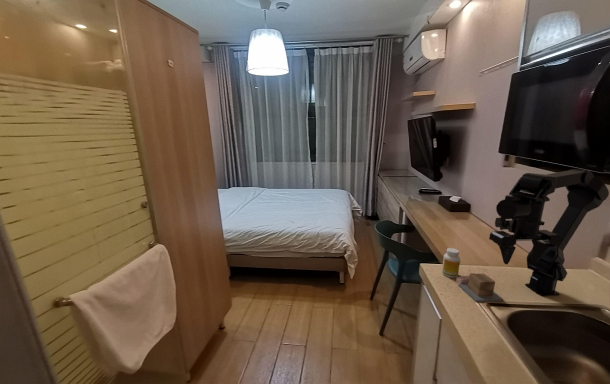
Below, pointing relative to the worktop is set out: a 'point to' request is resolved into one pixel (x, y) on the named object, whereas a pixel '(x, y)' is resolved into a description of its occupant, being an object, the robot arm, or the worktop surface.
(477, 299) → the slate trivet
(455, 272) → the supplement bottle
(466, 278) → the pink eraser
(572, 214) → the robot arm
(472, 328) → the worktop surface
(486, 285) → the walnut block
